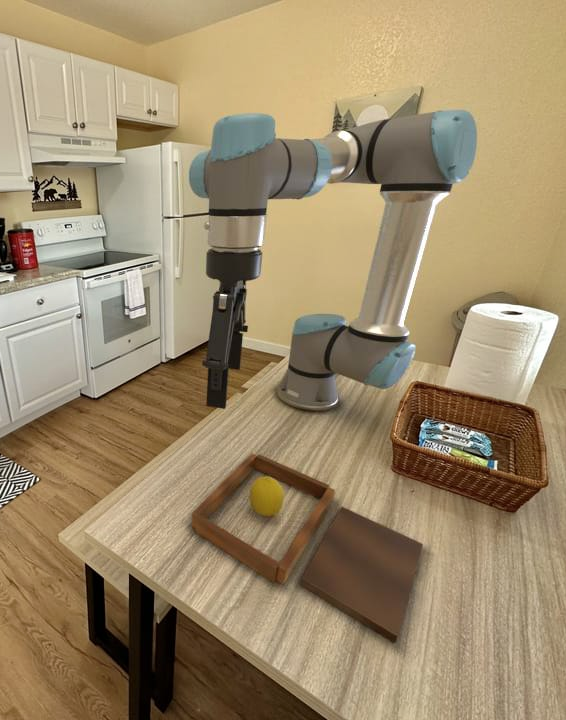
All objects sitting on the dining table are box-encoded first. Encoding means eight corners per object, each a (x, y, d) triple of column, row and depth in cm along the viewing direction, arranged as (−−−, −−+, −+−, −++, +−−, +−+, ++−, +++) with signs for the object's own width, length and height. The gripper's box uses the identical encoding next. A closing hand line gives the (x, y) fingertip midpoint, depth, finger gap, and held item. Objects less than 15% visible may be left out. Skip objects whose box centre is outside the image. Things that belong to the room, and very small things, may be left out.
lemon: (282, 528, 65) (288, 492, 62) (248, 524, 66) (252, 487, 63) (278, 504, 70) (284, 469, 67) (247, 500, 71) (251, 466, 68)
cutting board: (340, 512, 68) (341, 506, 67) (420, 550, 60) (423, 543, 60) (300, 584, 56) (301, 577, 55) (394, 643, 48) (397, 636, 48)
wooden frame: (251, 463, 81) (253, 451, 79) (333, 500, 70) (336, 488, 69) (189, 528, 65) (189, 515, 64) (281, 588, 55) (284, 573, 54)
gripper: (223, 237, 64) (216, 353, 73) (182, 262, 43) (179, 421, 52) (270, 238, 62) (257, 358, 70) (251, 265, 41) (236, 432, 49)
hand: (224, 385), depth 61 cm, fingers open, 13 cm apart
